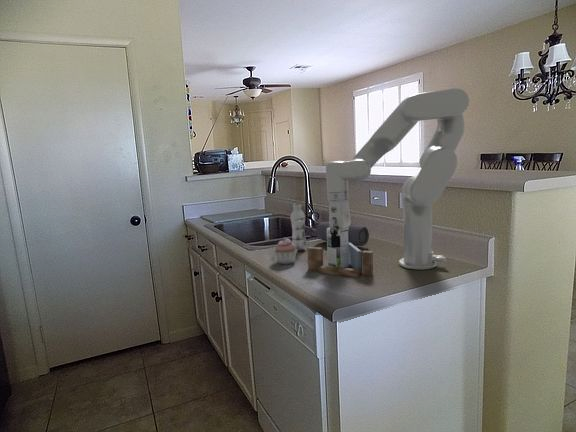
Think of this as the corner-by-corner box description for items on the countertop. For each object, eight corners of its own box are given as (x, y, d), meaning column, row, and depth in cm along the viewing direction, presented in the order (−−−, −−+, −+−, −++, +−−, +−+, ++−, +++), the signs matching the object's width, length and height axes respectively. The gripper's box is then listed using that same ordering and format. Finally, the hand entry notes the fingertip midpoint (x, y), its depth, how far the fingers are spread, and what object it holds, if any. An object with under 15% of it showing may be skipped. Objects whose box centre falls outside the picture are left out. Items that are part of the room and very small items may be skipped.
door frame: (373, 274, 127) (372, 251, 126) (370, 278, 124) (369, 254, 122) (310, 268, 138) (309, 246, 136) (306, 271, 134) (304, 249, 133)
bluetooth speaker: (370, 246, 164) (369, 223, 162) (357, 251, 157) (357, 227, 156) (328, 239, 180) (327, 219, 178) (316, 243, 173) (315, 222, 171)
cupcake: (270, 261, 149) (268, 236, 147) (291, 257, 153) (289, 233, 151) (281, 267, 141) (279, 241, 139) (302, 262, 145) (301, 237, 143)
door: (362, 273, 128) (362, 251, 126) (359, 274, 128) (359, 251, 126) (350, 262, 142) (350, 241, 140) (347, 262, 141) (347, 242, 140)
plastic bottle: (290, 252, 161) (288, 205, 158) (293, 248, 168) (290, 203, 164) (305, 252, 160) (303, 205, 157) (307, 247, 167) (305, 202, 163)
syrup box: (327, 266, 138) (325, 228, 136) (337, 263, 142) (336, 225, 139) (338, 270, 134) (337, 229, 131) (349, 266, 138) (348, 227, 135)
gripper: (339, 199, 124) (342, 250, 127) (355, 193, 139) (358, 238, 142) (318, 200, 128) (322, 249, 131) (336, 193, 143) (339, 237, 146)
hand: (340, 243), depth 136 cm, fingers open, 9 cm apart
